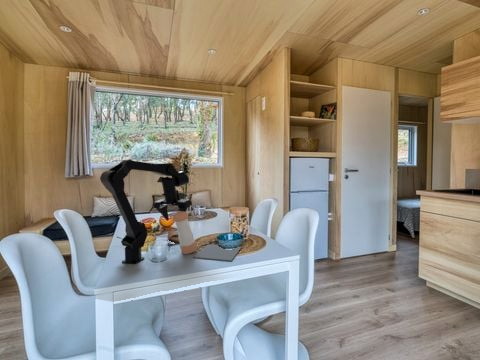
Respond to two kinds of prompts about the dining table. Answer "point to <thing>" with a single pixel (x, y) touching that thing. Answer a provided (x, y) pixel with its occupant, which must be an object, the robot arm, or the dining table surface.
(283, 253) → the dining table surface
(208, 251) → the rubber mat
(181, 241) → the pepper shaker
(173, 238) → the sunglasses case
